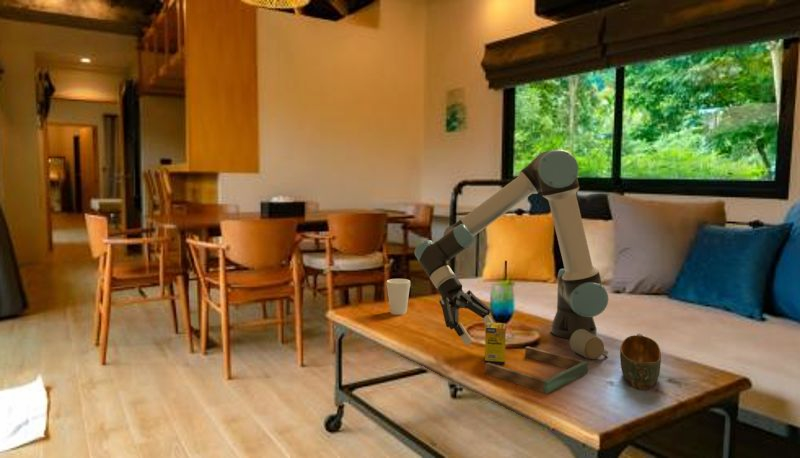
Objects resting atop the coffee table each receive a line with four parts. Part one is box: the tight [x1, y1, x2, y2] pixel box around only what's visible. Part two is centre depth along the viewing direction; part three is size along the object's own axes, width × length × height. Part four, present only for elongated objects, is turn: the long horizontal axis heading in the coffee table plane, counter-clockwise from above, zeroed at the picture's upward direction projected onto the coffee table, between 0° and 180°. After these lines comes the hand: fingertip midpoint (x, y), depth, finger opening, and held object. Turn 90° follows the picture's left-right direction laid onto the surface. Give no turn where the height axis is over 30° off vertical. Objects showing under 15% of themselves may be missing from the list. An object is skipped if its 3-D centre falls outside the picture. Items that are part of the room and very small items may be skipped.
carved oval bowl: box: [619, 333, 662, 391], centre depth 150 cm, size 13×20×10 cm, turn 131°
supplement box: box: [484, 322, 507, 365], centre depth 164 cm, size 6×6×11 cm
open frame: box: [484, 346, 589, 395], centre depth 154 cm, size 20×21×3 cm
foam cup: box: [386, 278, 411, 316], centre depth 220 cm, size 10×9×13 cm
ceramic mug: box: [569, 329, 609, 361], centre depth 169 cm, size 11×8×8 cm
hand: (483, 339), depth 167 cm, fingers open, 13 cm apart
